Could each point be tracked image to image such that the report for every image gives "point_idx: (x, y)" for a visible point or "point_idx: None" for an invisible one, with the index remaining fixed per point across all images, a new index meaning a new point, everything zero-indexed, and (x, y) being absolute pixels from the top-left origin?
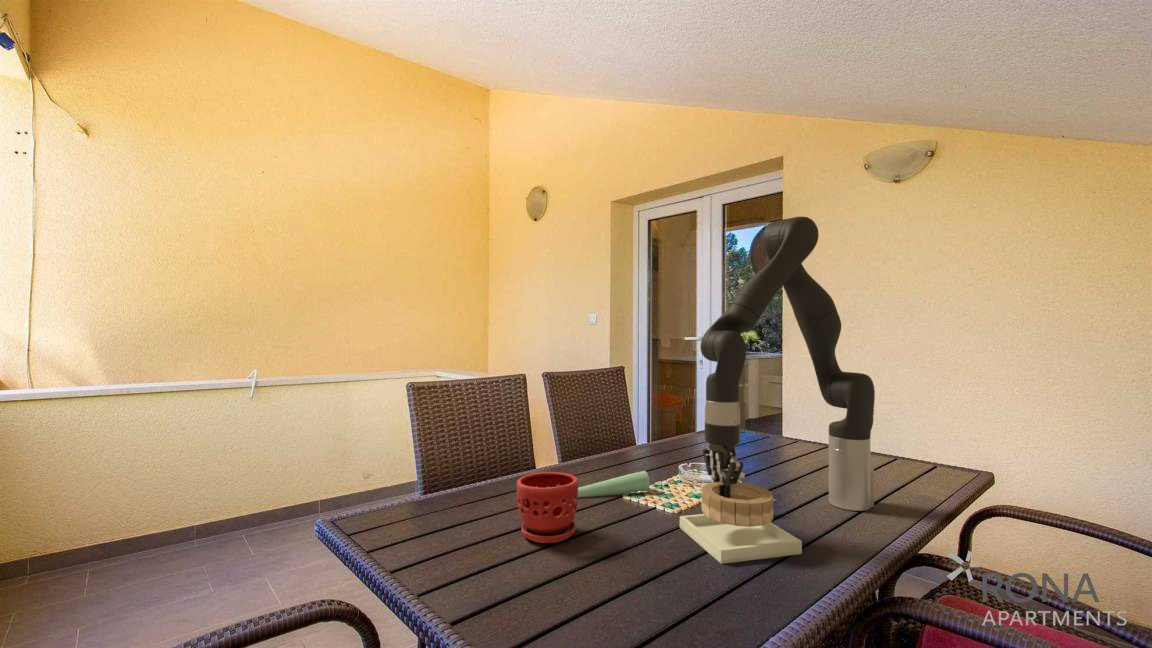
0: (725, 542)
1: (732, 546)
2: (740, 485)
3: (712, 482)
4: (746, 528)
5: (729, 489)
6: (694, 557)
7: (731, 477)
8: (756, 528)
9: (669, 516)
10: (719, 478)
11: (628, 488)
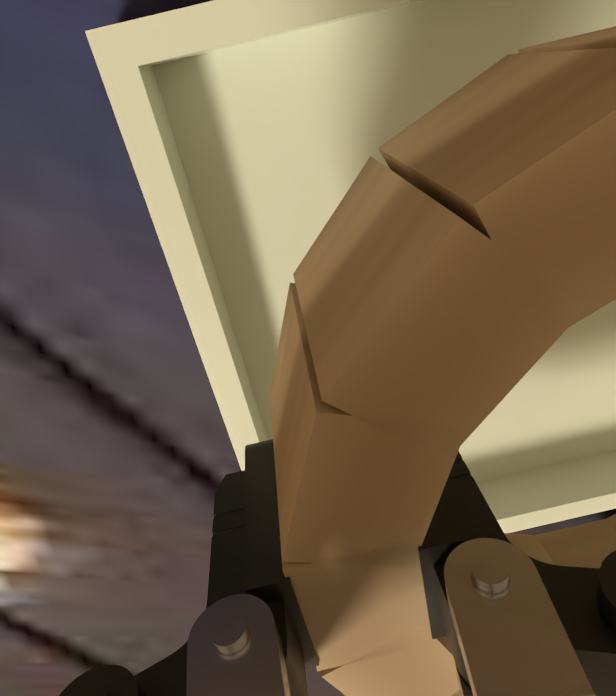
0: (545, 376)
1: (604, 354)
2: (489, 408)
3: (332, 684)
4: (357, 170)
5: (494, 521)
6: (609, 514)
7: (568, 652)
8: (364, 80)
9: (111, 557)
10: (299, 666)
11: None
